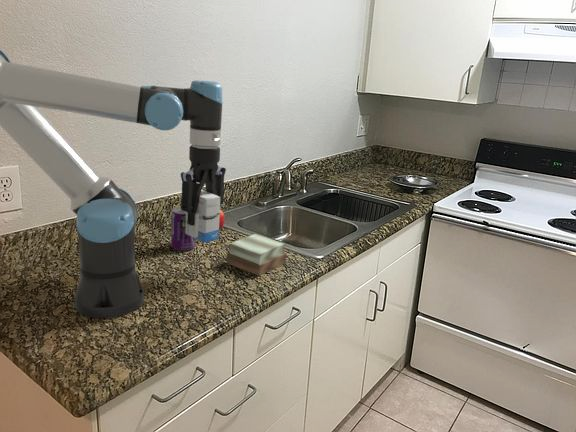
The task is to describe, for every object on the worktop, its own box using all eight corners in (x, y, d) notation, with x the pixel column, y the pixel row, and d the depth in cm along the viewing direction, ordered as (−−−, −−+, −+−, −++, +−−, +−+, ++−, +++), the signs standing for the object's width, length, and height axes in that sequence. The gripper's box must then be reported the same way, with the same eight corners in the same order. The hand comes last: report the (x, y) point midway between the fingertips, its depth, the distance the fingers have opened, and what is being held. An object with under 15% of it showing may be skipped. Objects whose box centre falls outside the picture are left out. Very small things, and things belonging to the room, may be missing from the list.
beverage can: (189, 253, 142) (189, 215, 139) (167, 250, 144) (166, 212, 140) (198, 245, 149) (199, 208, 145) (177, 242, 150) (176, 205, 146)
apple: (220, 226, 166) (221, 198, 163) (227, 235, 159) (227, 206, 156) (196, 228, 163) (196, 199, 160) (202, 236, 156) (202, 207, 152)
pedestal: (259, 275, 131) (260, 255, 129) (226, 263, 138) (227, 243, 136) (285, 262, 140) (286, 243, 139) (254, 251, 147) (254, 232, 145)
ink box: (219, 239, 126) (221, 196, 123) (204, 243, 123) (205, 199, 119) (199, 229, 132) (200, 188, 128) (184, 233, 128) (185, 190, 125)
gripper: (187, 152, 111) (185, 246, 118) (241, 145, 125) (236, 229, 132) (165, 146, 115) (164, 237, 122) (220, 140, 129) (216, 222, 136)
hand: (201, 233), depth 127 cm, fingers closed on ink box, 5 cm apart
